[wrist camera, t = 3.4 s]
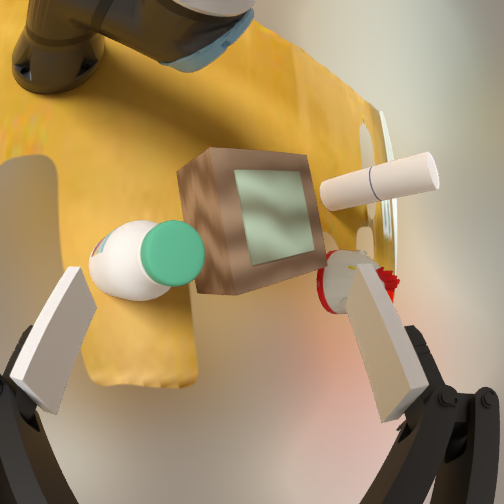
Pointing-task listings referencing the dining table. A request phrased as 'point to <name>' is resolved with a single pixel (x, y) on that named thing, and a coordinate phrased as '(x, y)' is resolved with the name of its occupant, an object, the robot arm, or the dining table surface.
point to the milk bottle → (146, 259)
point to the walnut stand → (251, 218)
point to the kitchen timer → (346, 278)
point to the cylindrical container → (381, 182)
